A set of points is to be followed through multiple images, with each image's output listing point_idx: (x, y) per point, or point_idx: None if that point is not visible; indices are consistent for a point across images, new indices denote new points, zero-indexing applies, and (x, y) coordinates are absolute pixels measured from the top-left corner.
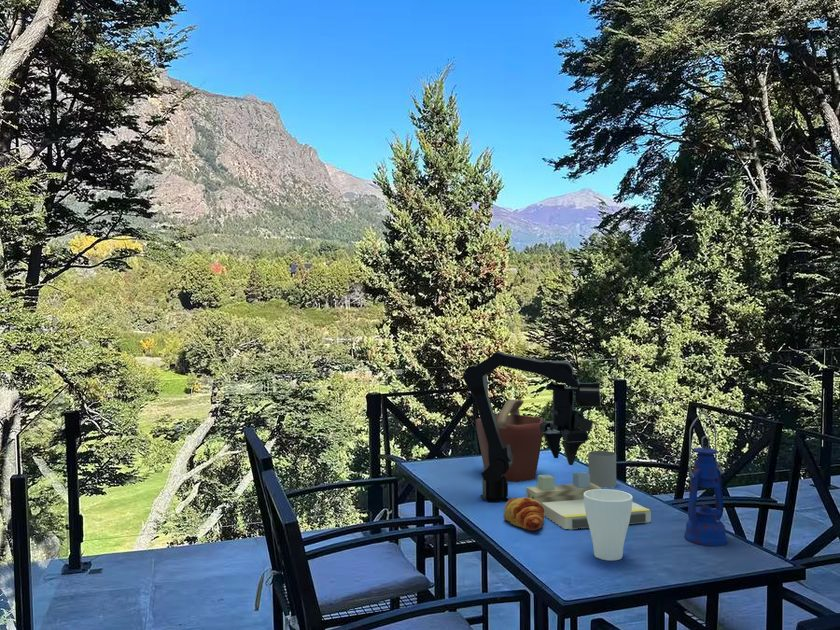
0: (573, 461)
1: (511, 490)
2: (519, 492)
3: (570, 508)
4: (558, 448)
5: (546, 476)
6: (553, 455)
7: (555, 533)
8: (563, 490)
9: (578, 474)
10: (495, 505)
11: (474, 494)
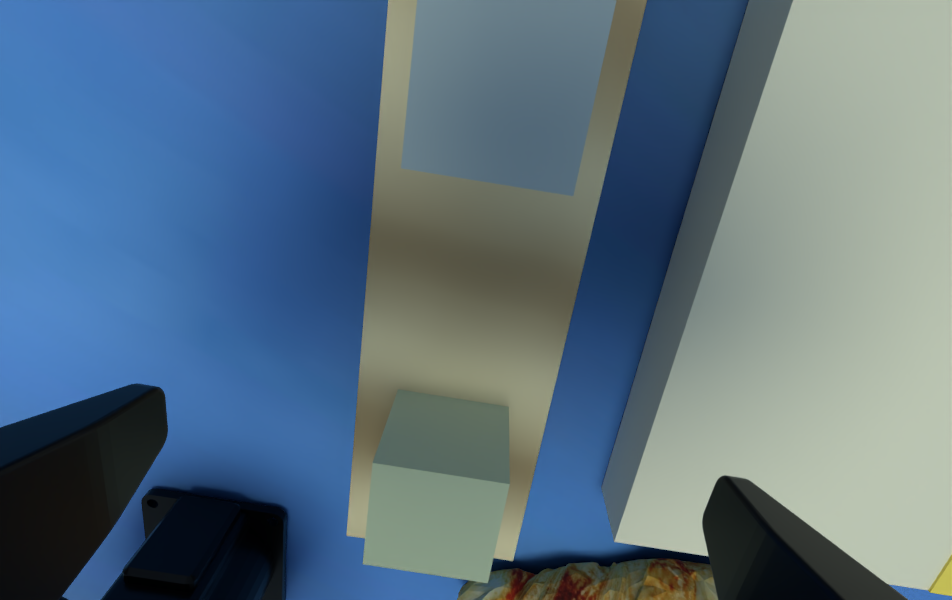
0: (794, 526)
1: (35, 371)
2: (96, 352)
3: (846, 467)
4: (2, 498)
5: (443, 525)
6: (126, 484)
7: (917, 596)
8: (562, 353)
9: (515, 153)
10: (345, 594)
11: (100, 584)
